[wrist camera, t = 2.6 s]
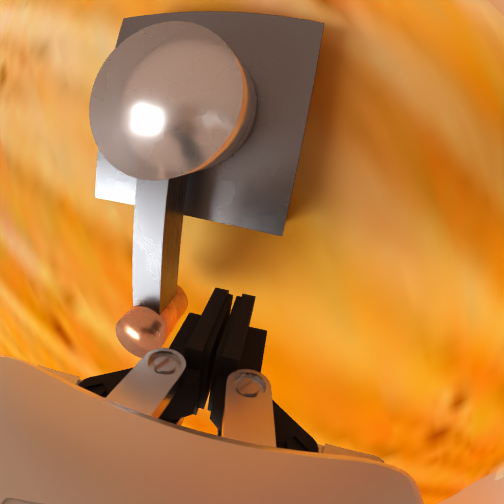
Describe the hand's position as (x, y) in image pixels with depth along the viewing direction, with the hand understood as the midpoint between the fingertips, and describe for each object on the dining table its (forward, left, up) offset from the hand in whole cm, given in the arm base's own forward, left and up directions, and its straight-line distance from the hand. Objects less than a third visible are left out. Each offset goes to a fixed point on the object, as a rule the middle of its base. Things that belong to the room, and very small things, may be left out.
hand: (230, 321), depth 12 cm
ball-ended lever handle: (+5, -4, -5) cm, 8 cm away
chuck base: (+5, -8, -8) cm, 13 cm away
